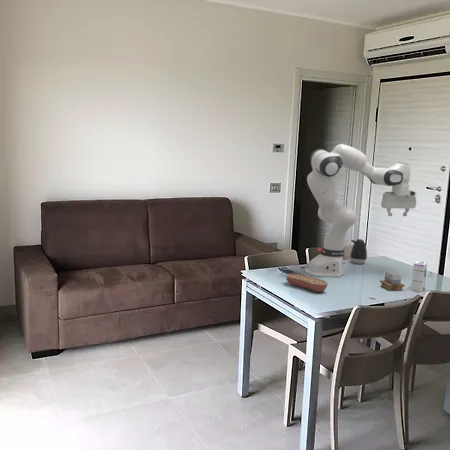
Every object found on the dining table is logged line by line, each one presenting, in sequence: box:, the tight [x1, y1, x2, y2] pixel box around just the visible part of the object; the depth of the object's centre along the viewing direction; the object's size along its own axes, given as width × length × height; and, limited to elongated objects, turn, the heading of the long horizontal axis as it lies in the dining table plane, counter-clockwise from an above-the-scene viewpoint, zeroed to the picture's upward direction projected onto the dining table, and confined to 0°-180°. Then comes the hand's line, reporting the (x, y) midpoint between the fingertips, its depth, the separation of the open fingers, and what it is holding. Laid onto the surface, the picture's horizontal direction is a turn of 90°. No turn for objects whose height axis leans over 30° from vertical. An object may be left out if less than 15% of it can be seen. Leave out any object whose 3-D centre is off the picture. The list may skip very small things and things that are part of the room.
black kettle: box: [349, 238, 368, 265], centre depth 311 cm, size 10×10×15 cm
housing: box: [383, 271, 402, 285], centre depth 260 cm, size 5×7×5 cm
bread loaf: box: [285, 273, 328, 293], centre depth 253 cm, size 23×10×5 cm, turn 48°
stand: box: [379, 279, 406, 292], centre depth 261 cm, size 9×9×3 cm
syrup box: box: [410, 260, 428, 292], centre depth 260 cm, size 6×6×14 cm
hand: (397, 216), depth 283 cm, fingers open, 8 cm apart
